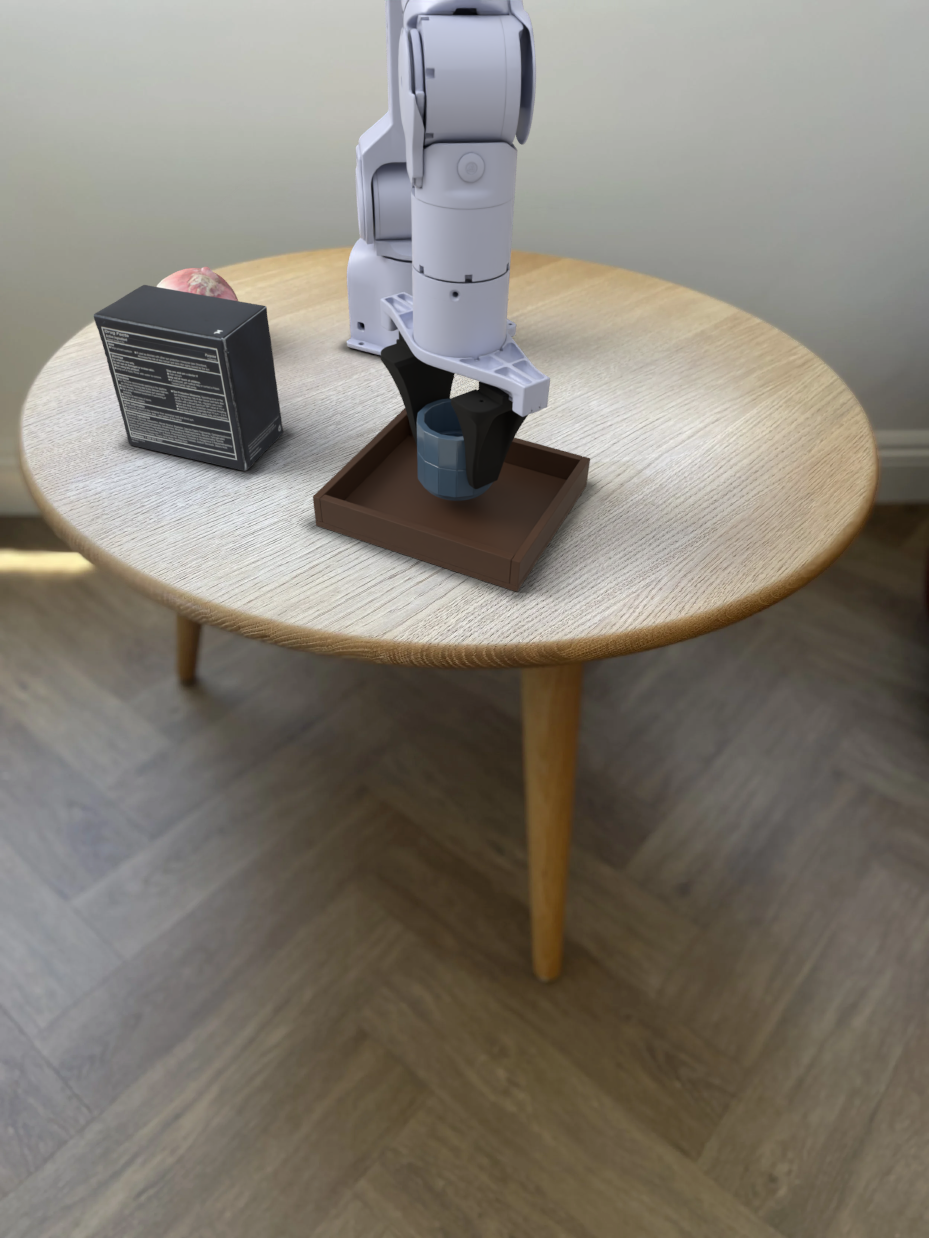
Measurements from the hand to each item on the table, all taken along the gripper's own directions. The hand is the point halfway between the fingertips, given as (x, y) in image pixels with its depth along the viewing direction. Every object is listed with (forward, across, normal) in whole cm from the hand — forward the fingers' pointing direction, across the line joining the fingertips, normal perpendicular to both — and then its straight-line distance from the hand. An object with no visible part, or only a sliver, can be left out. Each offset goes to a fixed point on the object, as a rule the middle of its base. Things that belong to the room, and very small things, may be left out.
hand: (456, 462), depth 60 cm
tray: (+4, 0, 0) cm, 4 cm away
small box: (+4, +18, +10) cm, 21 cm away
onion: (+4, +33, +4) cm, 33 cm away
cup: (+2, 0, 0) cm, 2 cm away
